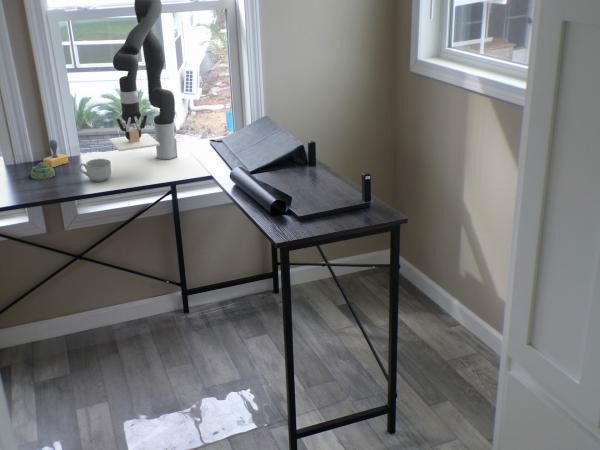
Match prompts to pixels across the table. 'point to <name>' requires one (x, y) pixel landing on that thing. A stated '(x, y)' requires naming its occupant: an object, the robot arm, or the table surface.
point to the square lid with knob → (134, 141)
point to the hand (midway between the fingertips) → (133, 138)
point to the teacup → (97, 169)
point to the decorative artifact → (42, 171)
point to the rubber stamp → (55, 156)
